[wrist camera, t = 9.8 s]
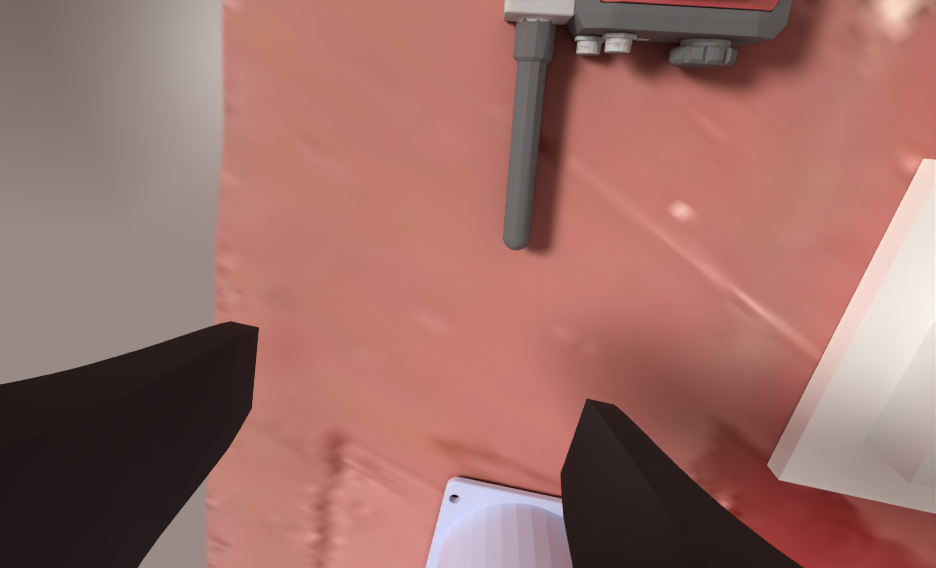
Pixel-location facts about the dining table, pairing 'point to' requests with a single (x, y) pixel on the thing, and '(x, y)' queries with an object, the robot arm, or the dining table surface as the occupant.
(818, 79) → the dining table surface
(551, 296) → the dining table surface
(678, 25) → the walkie-talkie
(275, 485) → the dining table surface
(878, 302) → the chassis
